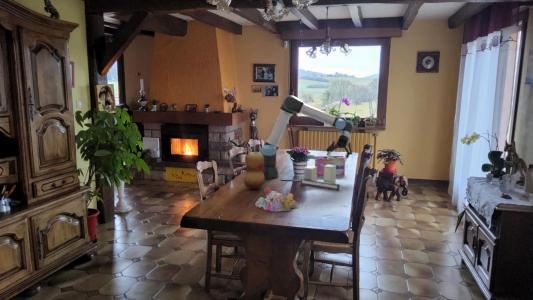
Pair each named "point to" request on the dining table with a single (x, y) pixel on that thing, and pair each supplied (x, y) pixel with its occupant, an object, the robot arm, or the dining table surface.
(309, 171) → the oat carton
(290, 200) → the pastel sphere sculpture
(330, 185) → the price rail
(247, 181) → the butternut squash
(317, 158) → the gum box
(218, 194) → the dining table surface
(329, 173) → the tea carton
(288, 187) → the dining table surface
